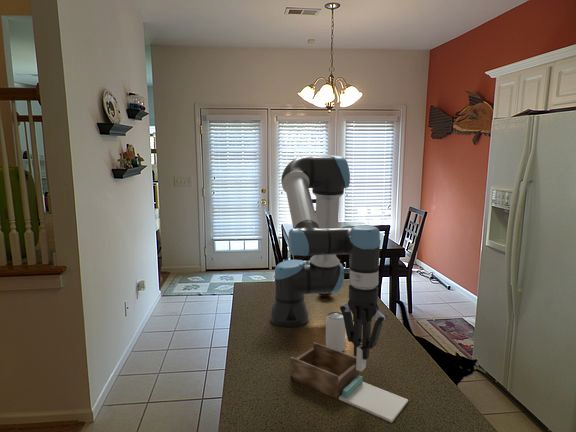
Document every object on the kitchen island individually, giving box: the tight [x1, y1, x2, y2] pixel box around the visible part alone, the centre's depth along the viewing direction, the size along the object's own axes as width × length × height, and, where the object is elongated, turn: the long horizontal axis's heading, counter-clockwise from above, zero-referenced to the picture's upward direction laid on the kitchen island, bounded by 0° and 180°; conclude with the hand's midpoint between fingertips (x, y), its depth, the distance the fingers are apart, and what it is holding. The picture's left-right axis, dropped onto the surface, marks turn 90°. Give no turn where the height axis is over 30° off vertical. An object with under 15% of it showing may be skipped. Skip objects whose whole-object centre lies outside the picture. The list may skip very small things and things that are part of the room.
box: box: [289, 341, 360, 400], centre depth 114 cm, size 16×12×6 cm
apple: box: [318, 293, 333, 298], centre depth 179 cm, size 7×8×8 cm
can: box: [325, 311, 346, 353], centre depth 131 cm, size 6×6×12 cm
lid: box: [338, 374, 409, 423], centre depth 104 cm, size 15×10×3 cm
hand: (361, 368), depth 106 cm, fingers closed
